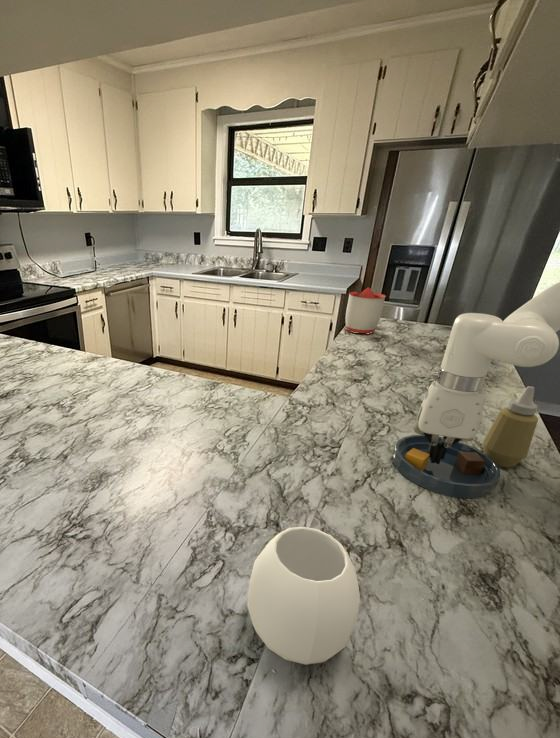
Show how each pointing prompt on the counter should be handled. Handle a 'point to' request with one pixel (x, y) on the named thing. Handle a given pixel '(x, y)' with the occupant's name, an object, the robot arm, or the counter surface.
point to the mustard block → (417, 458)
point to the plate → (446, 470)
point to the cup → (304, 595)
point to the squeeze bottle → (512, 431)
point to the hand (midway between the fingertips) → (433, 460)
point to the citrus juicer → (364, 311)
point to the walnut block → (469, 463)
